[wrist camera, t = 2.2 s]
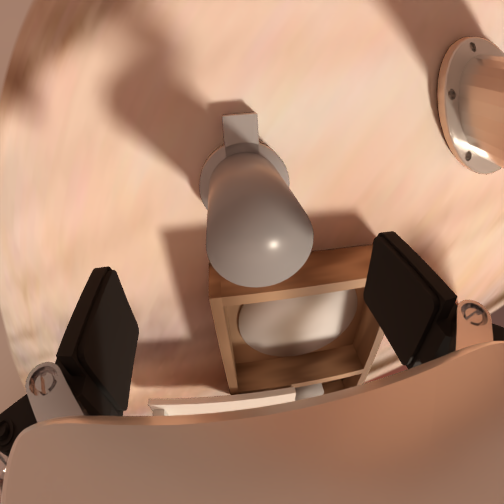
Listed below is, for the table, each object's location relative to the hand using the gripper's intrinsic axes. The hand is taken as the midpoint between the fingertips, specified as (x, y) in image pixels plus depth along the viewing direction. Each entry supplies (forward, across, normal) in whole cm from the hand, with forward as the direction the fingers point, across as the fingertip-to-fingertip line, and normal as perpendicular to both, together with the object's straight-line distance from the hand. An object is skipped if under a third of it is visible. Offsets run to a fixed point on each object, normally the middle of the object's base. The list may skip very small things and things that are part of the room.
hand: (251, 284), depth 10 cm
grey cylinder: (+10, -1, 0) cm, 10 cm away
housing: (+10, -5, +16) cm, 19 cm away
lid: (+6, +3, +22) cm, 23 cm away
